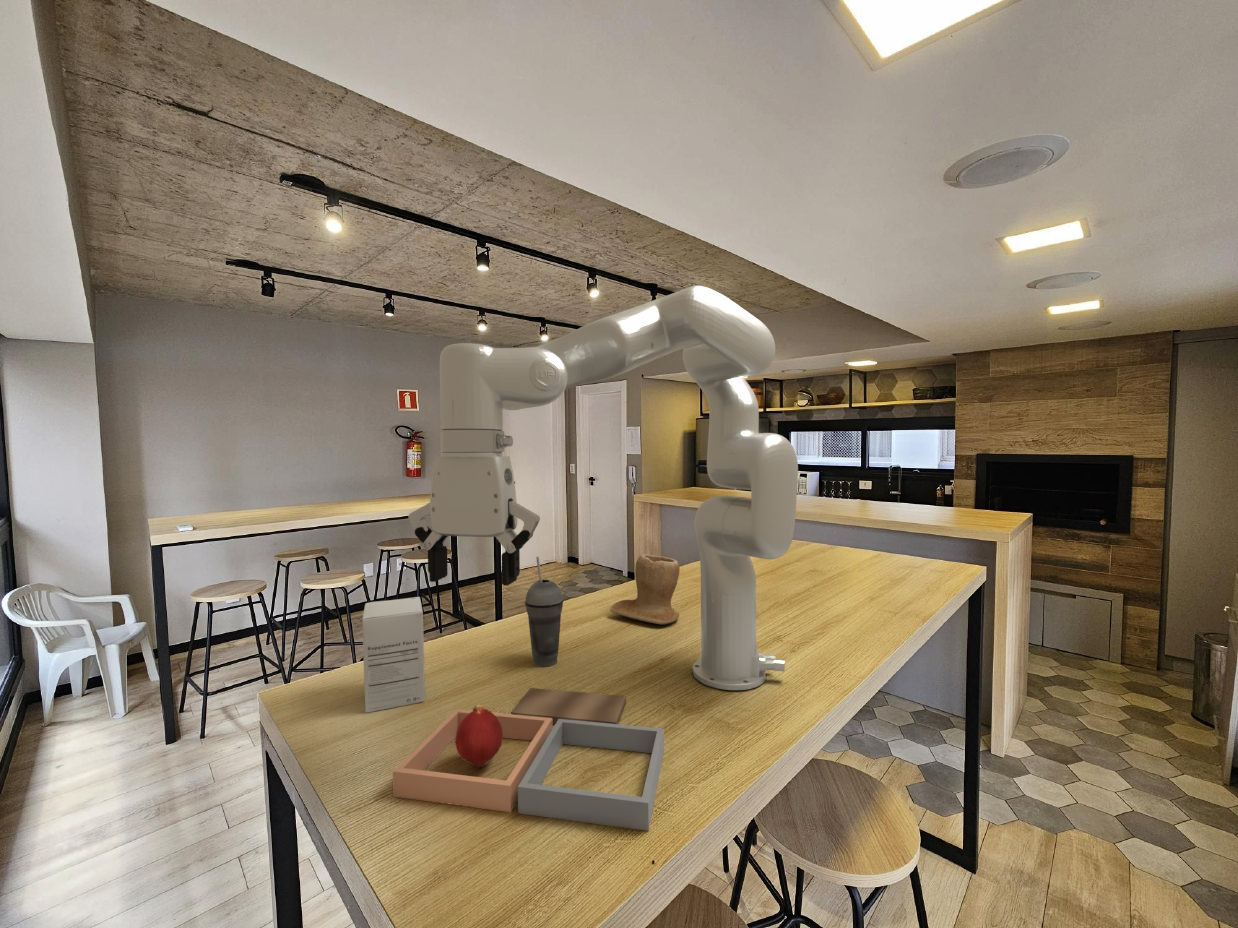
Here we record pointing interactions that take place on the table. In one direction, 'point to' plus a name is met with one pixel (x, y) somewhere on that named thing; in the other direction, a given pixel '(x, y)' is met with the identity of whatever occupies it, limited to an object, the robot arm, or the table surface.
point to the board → (571, 706)
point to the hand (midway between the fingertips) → (473, 580)
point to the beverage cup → (544, 620)
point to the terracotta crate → (468, 788)
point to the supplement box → (393, 653)
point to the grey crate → (593, 803)
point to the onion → (479, 736)
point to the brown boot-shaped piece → (652, 591)
